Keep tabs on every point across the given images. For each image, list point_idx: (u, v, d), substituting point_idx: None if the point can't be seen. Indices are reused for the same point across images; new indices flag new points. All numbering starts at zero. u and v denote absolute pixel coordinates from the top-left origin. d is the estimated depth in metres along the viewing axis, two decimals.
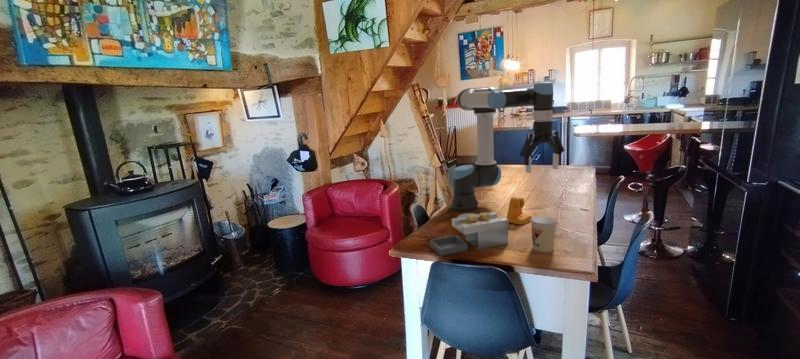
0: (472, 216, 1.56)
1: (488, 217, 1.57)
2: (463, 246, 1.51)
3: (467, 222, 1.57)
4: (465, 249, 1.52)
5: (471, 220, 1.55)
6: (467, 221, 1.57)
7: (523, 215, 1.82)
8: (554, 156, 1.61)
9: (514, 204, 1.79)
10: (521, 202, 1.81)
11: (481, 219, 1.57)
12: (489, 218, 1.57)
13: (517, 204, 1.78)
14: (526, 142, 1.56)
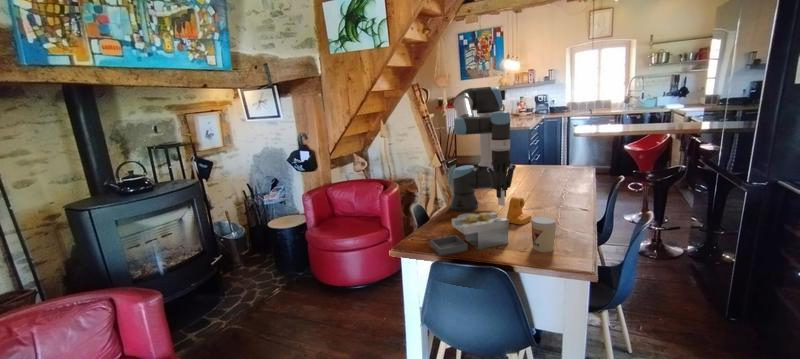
0: (472, 216, 1.56)
1: (488, 217, 1.57)
2: (463, 246, 1.51)
3: (467, 222, 1.57)
4: (465, 249, 1.52)
5: (471, 220, 1.55)
6: (467, 221, 1.57)
7: (523, 215, 1.82)
8: None
9: (514, 204, 1.79)
10: (521, 202, 1.81)
11: (481, 219, 1.57)
12: (489, 218, 1.57)
13: (517, 204, 1.78)
14: (490, 176, 1.55)
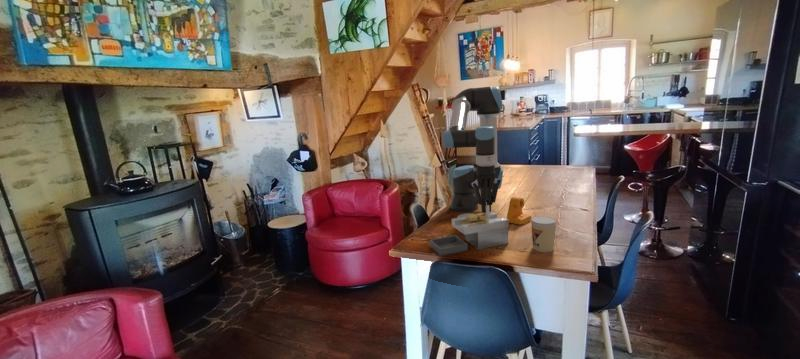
0: (472, 216, 1.56)
1: (484, 218, 1.56)
2: (463, 246, 1.51)
3: (467, 222, 1.57)
4: (465, 249, 1.52)
5: (471, 220, 1.55)
6: (467, 221, 1.57)
7: (523, 215, 1.82)
8: None
9: (514, 204, 1.79)
10: (521, 202, 1.81)
11: None
12: (485, 219, 1.56)
13: (517, 204, 1.78)
14: (475, 191, 1.55)
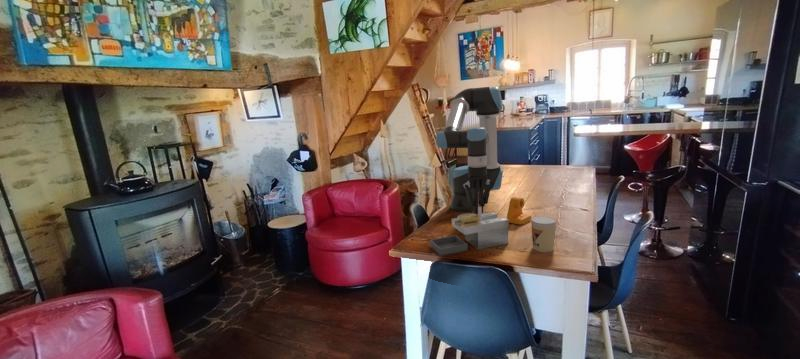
0: (466, 217, 1.55)
1: (477, 219, 1.55)
2: (463, 246, 1.51)
3: (460, 223, 1.57)
4: (465, 249, 1.52)
5: (465, 221, 1.54)
6: (461, 222, 1.56)
7: (523, 215, 1.82)
8: None
9: (514, 204, 1.79)
10: (521, 202, 1.81)
11: None
12: (478, 220, 1.55)
13: (517, 204, 1.78)
14: (467, 192, 1.54)
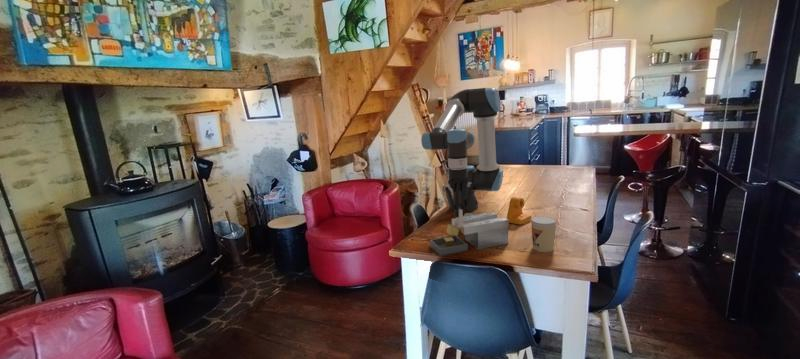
0: (445, 244, 1.55)
1: (453, 228, 1.53)
2: (463, 246, 1.51)
3: None
4: (465, 249, 1.52)
5: None
6: None
7: (523, 215, 1.82)
8: None
9: (514, 204, 1.79)
10: (521, 202, 1.81)
11: None
12: (455, 227, 1.53)
13: (517, 204, 1.78)
14: (447, 195, 1.51)
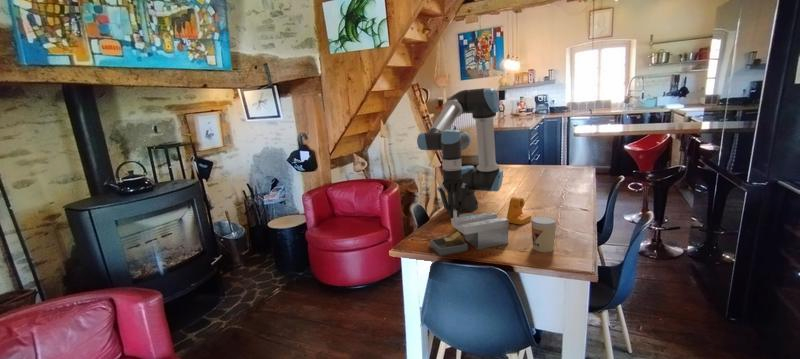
0: (445, 244, 1.55)
1: (460, 237, 1.54)
2: (463, 246, 1.51)
3: None
4: (465, 249, 1.52)
5: None
6: None
7: (523, 215, 1.82)
8: None
9: (514, 204, 1.79)
10: (521, 202, 1.81)
11: (455, 241, 1.55)
12: (461, 238, 1.54)
13: (517, 204, 1.78)
14: (441, 196, 1.51)
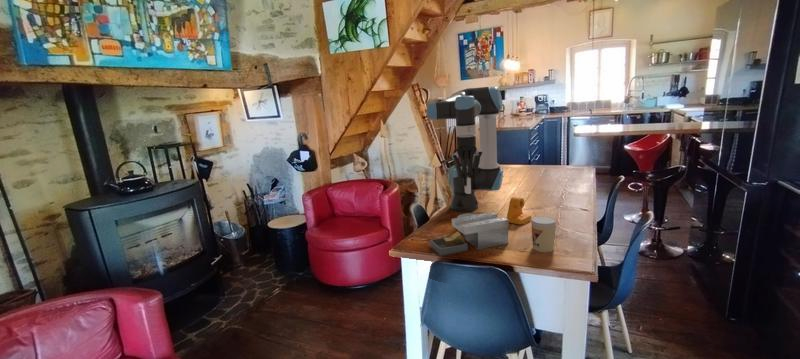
0: (445, 244, 1.55)
1: (460, 237, 1.54)
2: (463, 246, 1.51)
3: None
4: (465, 249, 1.52)
5: None
6: None
7: (523, 215, 1.82)
8: None
9: (514, 204, 1.79)
10: (521, 202, 1.81)
11: (455, 241, 1.55)
12: (461, 238, 1.54)
13: (517, 204, 1.78)
14: (455, 163, 1.50)
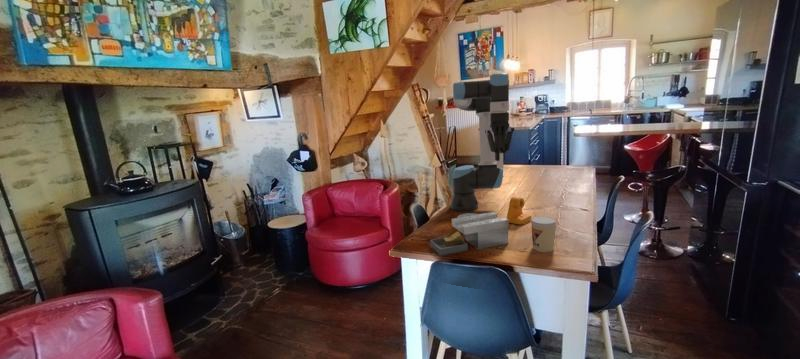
0: (445, 244, 1.55)
1: (460, 237, 1.54)
2: (463, 246, 1.51)
3: None
4: (465, 249, 1.52)
5: None
6: None
7: (523, 215, 1.82)
8: None
9: (514, 204, 1.79)
10: (521, 202, 1.81)
11: (455, 241, 1.55)
12: (461, 238, 1.54)
13: (517, 204, 1.78)
14: (489, 139, 1.56)
